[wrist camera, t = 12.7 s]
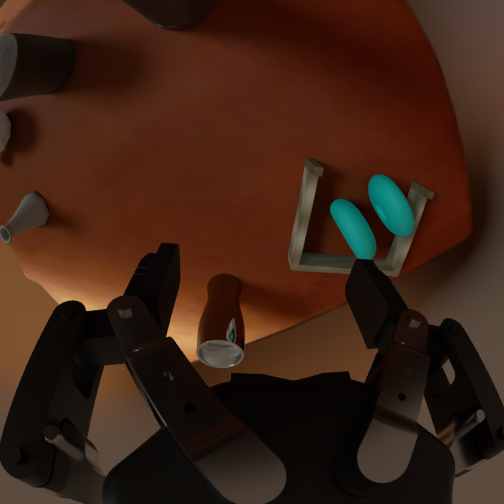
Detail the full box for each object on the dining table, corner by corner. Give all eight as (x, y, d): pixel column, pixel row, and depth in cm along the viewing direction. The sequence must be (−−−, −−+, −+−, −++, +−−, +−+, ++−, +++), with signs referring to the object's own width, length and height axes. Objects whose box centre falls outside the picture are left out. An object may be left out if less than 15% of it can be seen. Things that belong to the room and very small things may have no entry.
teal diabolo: (319, 196, 40) (340, 225, 31) (372, 163, 37) (405, 183, 29) (346, 242, 44) (368, 278, 36) (394, 212, 42) (424, 241, 33)
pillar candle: (85, 59, 26) (21, 54, 13) (48, 105, 29) (-17, 121, 16) (59, 28, 22) (-2, 19, 9) (25, 73, 25) (-36, 81, 12)
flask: (19, 203, 37) (-13, 227, 29) (35, 184, 36) (1, 206, 27) (36, 232, 41) (8, 259, 32) (54, 215, 39) (23, 243, 31)
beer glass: (242, 303, 50) (243, 370, 38) (204, 300, 50) (195, 367, 37) (245, 272, 47) (247, 340, 34) (204, 270, 46) (193, 337, 33)
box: (305, 157, 37) (314, 166, 32) (417, 181, 38) (434, 192, 34) (286, 256, 45) (291, 274, 41) (389, 263, 47) (400, 280, 42)
